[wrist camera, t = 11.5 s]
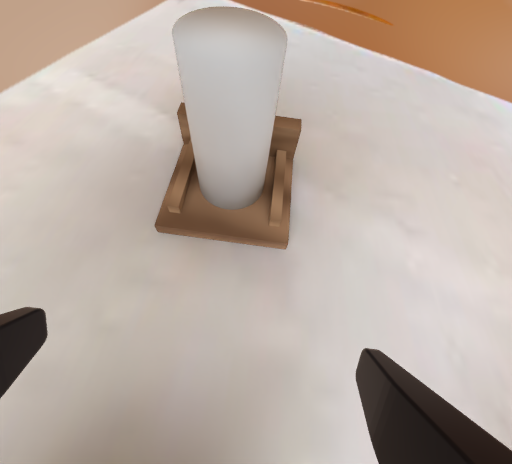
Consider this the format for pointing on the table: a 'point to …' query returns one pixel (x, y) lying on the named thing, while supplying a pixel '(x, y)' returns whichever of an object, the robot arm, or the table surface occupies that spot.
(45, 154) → the table surface
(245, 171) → the white tall cylinder
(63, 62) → the table surface
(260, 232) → the dock
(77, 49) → the table surface
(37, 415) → the table surface
